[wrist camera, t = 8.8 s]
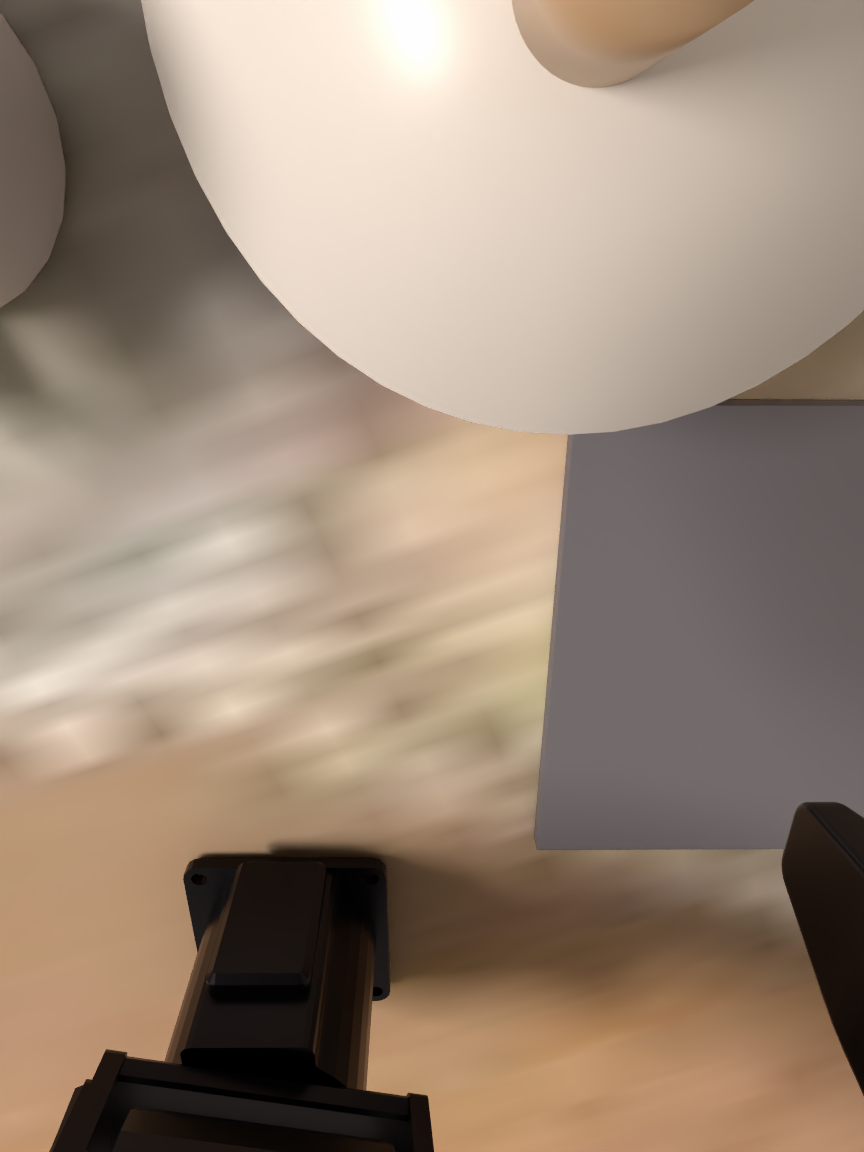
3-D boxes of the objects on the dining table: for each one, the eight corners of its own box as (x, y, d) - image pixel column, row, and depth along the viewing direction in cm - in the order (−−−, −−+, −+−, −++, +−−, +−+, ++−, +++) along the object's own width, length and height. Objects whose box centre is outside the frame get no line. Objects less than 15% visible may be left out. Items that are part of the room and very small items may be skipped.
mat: (966, 834, 24) (979, 848, 24) (533, 835, 24) (536, 849, 24) (1149, 400, 18) (1171, 406, 18) (571, 399, 18) (575, 405, 18)
